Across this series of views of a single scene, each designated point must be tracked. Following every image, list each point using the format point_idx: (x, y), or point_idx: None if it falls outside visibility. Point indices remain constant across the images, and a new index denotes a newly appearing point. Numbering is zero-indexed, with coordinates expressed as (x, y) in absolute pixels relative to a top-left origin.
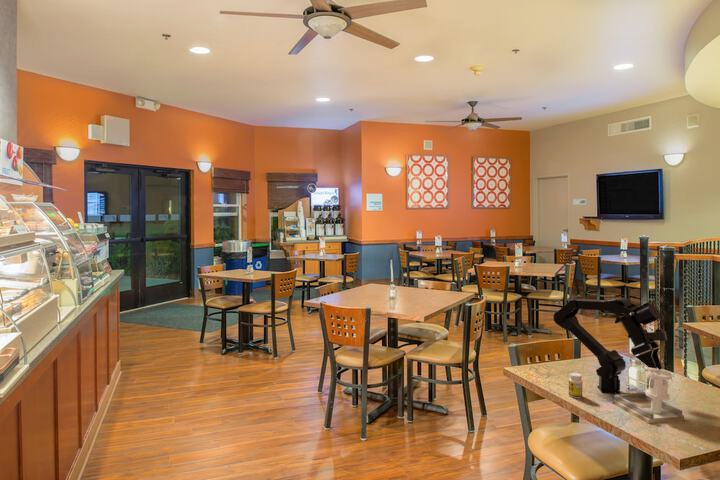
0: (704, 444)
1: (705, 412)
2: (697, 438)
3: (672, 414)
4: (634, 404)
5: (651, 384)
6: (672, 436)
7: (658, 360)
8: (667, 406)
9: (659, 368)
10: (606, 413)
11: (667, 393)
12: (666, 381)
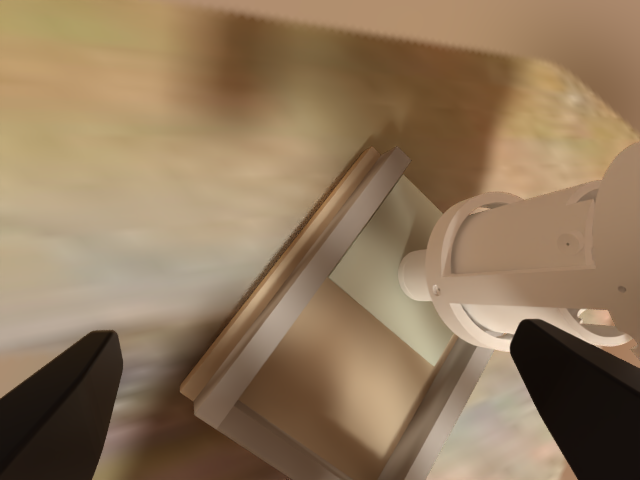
0: (545, 86)
1: (175, 42)
2: (515, 105)
3: (398, 198)
4: (463, 384)
5: None
6: (551, 187)
7: (16, 477)
8: (362, 225)
9: (117, 369)
10: (511, 469)
11: (462, 210)
12: (571, 201)
